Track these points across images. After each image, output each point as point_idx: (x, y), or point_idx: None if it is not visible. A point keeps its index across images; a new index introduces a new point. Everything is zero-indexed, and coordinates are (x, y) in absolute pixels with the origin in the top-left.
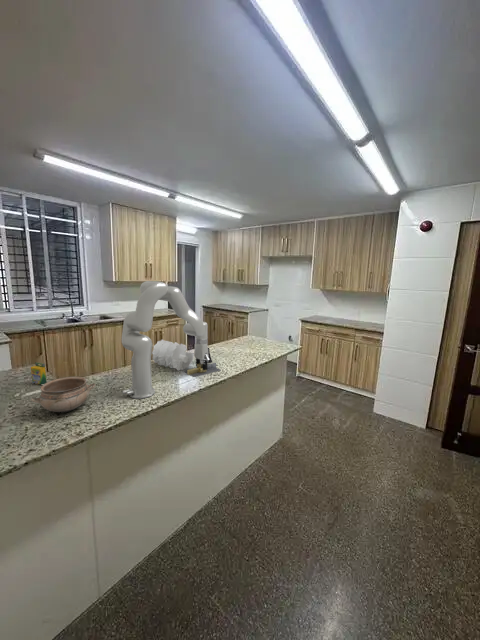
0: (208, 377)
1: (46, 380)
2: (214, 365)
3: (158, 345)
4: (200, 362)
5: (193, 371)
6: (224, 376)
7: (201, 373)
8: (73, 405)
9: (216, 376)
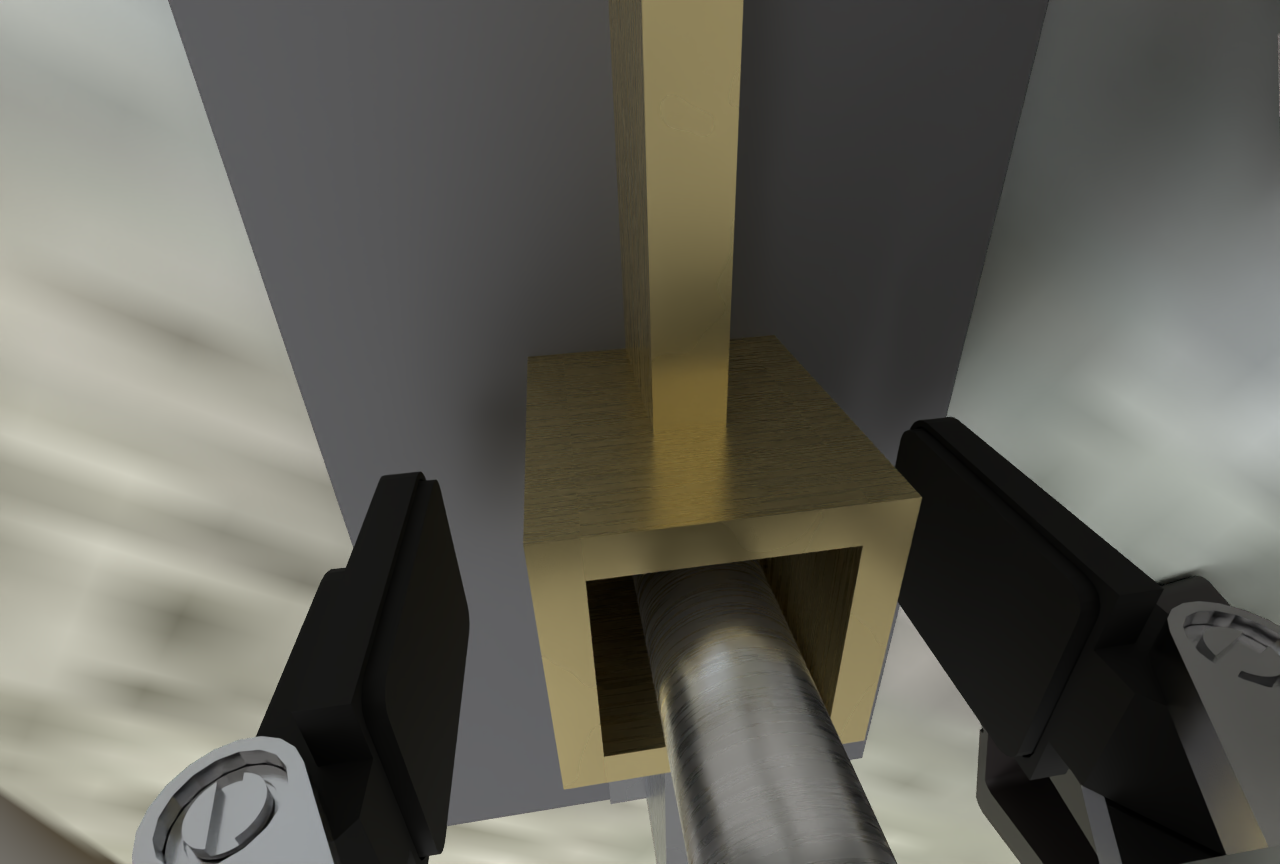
0: (19, 406)
1: None
2: (655, 837)
3: None
4: (752, 684)
5: (625, 68)
6: (5, 767)
7: (462, 357)
8: None
9: (61, 627)
